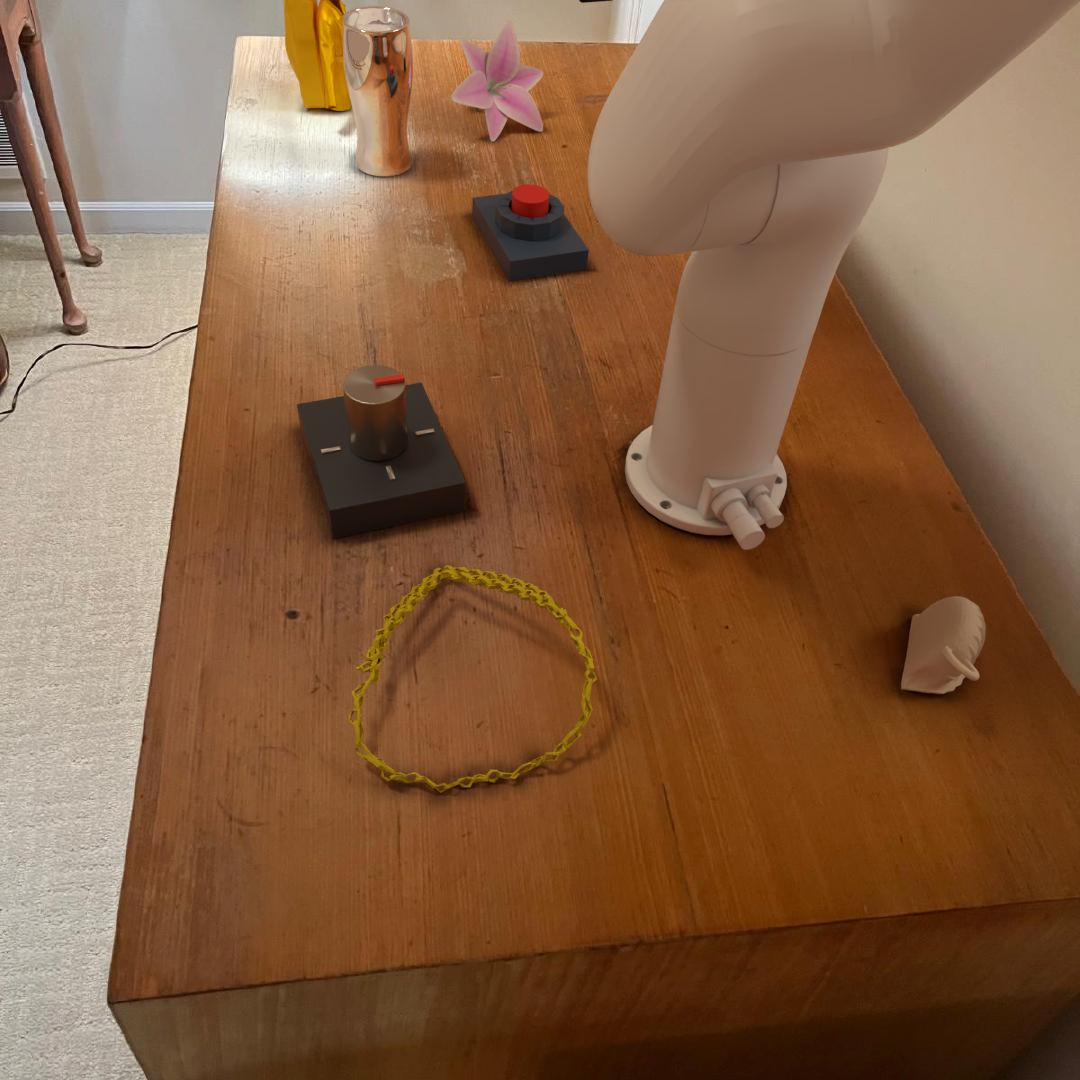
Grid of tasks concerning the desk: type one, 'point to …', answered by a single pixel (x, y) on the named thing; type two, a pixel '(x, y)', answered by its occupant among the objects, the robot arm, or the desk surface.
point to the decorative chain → (411, 602)
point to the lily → (500, 83)
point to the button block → (529, 238)
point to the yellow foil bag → (317, 51)
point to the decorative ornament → (943, 646)
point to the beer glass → (379, 86)
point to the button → (530, 201)
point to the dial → (376, 412)
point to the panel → (381, 469)
